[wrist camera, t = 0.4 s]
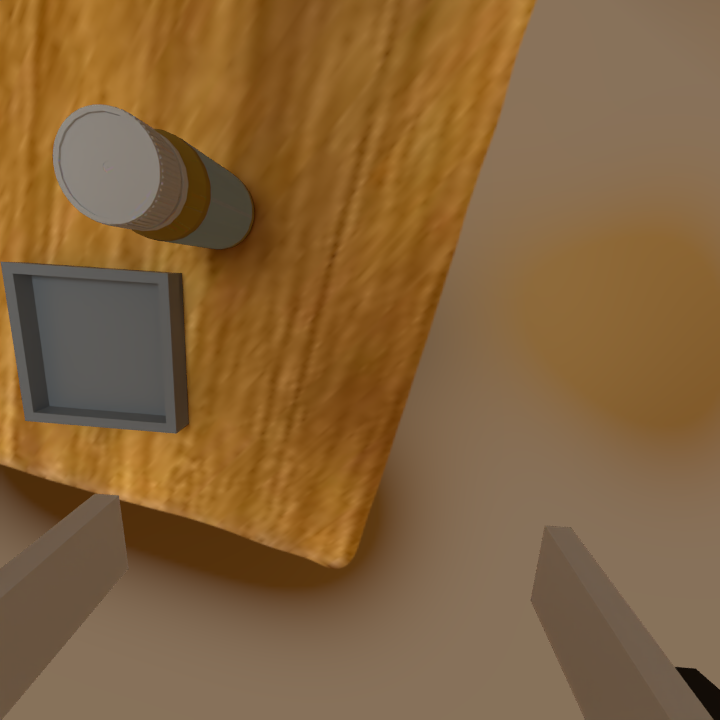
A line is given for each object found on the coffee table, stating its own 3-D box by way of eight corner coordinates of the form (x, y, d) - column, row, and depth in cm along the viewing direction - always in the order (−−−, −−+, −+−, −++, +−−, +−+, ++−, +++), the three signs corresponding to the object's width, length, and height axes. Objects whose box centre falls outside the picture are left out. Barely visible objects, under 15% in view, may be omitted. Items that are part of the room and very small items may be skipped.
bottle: (185, 246, 36) (51, 227, 21) (183, 168, 34) (38, 89, 20) (255, 253, 36) (170, 238, 21) (257, 174, 34) (166, 99, 19)
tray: (25, 262, 37) (0, 261, 34) (181, 273, 36) (167, 273, 34) (46, 412, 41) (25, 420, 38) (188, 423, 40) (176, 433, 38)
